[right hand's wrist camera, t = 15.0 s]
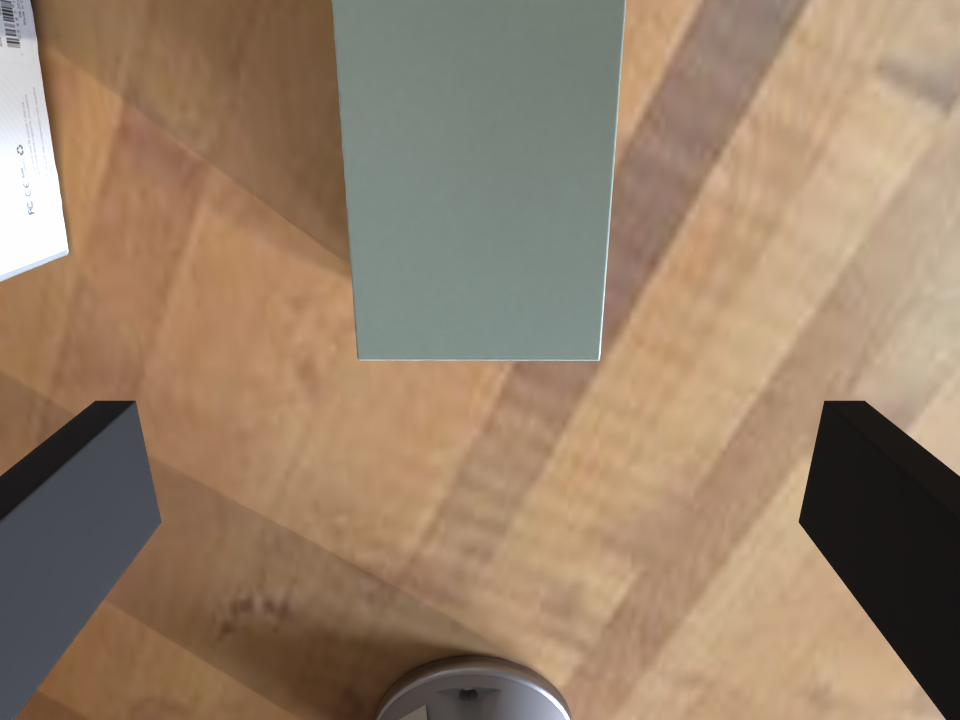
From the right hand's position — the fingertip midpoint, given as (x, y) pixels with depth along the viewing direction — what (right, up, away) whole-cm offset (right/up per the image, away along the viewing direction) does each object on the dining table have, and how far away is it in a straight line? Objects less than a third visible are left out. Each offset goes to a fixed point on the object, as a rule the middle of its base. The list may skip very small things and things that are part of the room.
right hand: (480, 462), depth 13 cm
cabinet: (0, +15, +22) cm, 26 cm away
